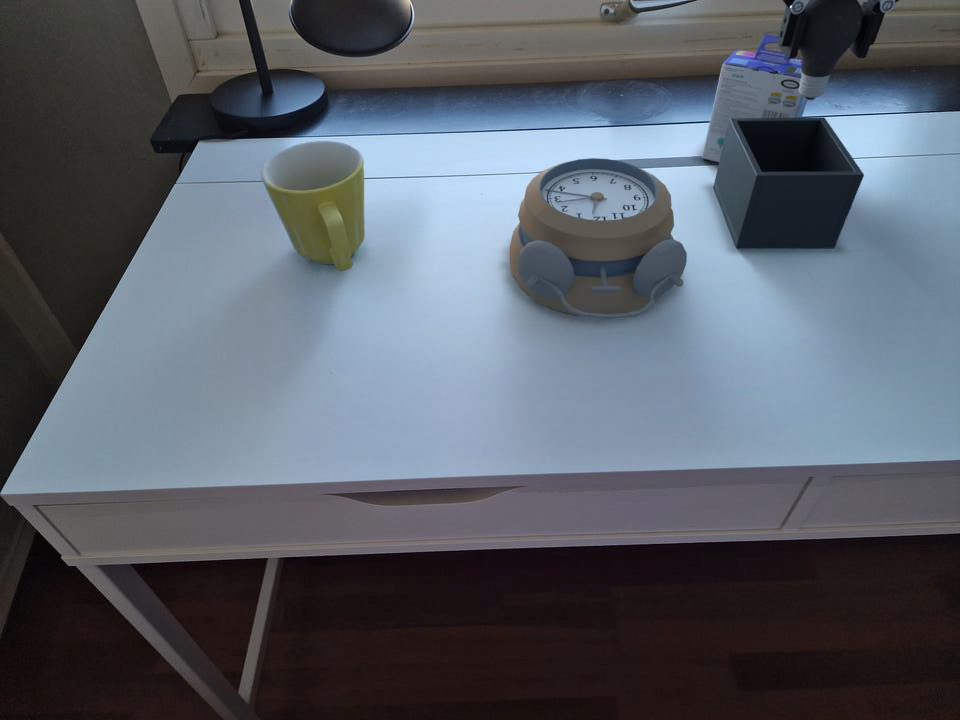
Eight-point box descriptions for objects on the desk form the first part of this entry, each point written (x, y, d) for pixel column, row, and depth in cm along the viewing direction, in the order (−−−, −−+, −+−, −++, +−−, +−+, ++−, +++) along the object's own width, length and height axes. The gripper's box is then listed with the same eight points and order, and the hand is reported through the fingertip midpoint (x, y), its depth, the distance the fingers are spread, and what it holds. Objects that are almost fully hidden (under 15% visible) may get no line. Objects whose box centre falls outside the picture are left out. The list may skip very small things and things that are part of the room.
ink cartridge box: (790, 159, 87) (828, 40, 77) (779, 178, 84) (816, 58, 74) (713, 141, 91) (739, 26, 81) (700, 159, 88) (725, 42, 78)
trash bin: (800, 187, 83) (824, 117, 76) (834, 248, 74) (864, 174, 68) (712, 187, 83) (729, 118, 77) (735, 248, 74) (756, 175, 68)
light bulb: (779, 109, 68) (803, 0, 61) (780, 85, 72) (803, -20, 65) (841, 112, 66) (873, 1, 60) (839, 88, 70) (869, -20, 63)
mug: (285, 229, 79) (262, 145, 72) (373, 218, 80) (360, 134, 73) (283, 305, 70) (256, 216, 62) (383, 291, 71) (369, 202, 63)
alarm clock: (671, 143, 72) (721, 280, 56) (658, 218, 79) (699, 360, 62) (509, 145, 73) (511, 282, 57) (509, 219, 79) (510, 361, 63)
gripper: (796, -177, 51) (738, 70, 63) (1039, -184, 50) (931, 68, 63) (770, -191, 56) (721, 39, 69) (989, -198, 55) (898, 37, 68)
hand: (822, 51), depth 65 cm, fingers closed on light bulb, 5 cm apart
